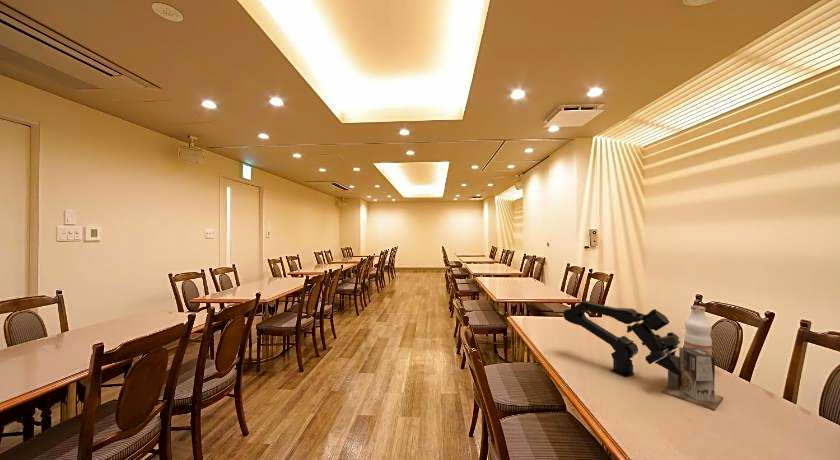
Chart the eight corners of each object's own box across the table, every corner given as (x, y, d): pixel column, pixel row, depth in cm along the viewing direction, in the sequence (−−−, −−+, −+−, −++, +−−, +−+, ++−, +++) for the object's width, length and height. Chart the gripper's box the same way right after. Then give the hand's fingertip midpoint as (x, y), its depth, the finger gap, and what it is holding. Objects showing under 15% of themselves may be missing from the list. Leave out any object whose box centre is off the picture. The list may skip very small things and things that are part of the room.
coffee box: (715, 402, 113) (716, 357, 113) (695, 401, 114) (696, 356, 114) (696, 389, 123) (696, 347, 123) (678, 388, 123) (678, 346, 123)
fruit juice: (679, 366, 145) (680, 305, 145) (690, 363, 149) (690, 303, 149) (705, 375, 137) (705, 310, 137) (715, 371, 141) (716, 308, 141)
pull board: (661, 392, 122) (662, 358, 122) (672, 383, 129) (673, 351, 129) (714, 410, 110) (714, 373, 110) (723, 399, 117) (723, 364, 117)
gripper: (655, 330, 121) (692, 370, 112) (672, 322, 132) (706, 358, 123) (632, 345, 127) (665, 383, 118) (649, 336, 138) (680, 370, 130)
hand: (680, 373), depth 122 cm, fingers closed on pull board, 3 cm apart
